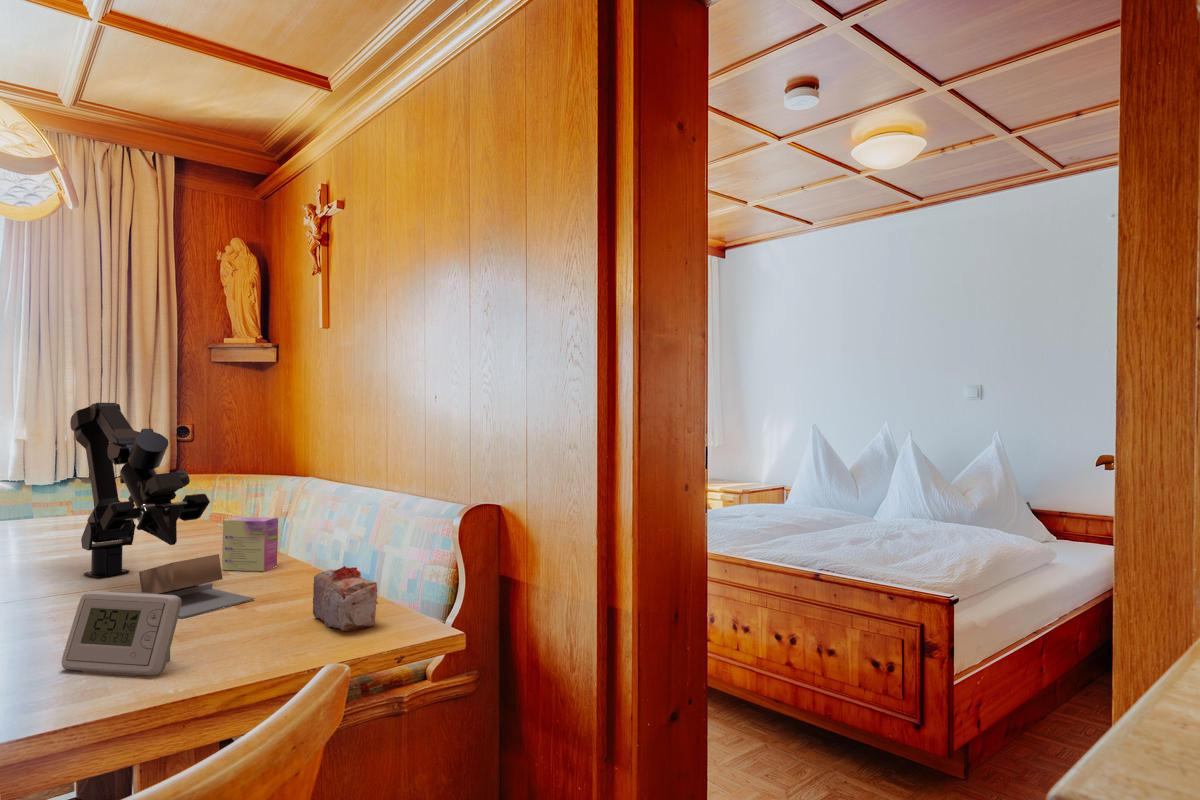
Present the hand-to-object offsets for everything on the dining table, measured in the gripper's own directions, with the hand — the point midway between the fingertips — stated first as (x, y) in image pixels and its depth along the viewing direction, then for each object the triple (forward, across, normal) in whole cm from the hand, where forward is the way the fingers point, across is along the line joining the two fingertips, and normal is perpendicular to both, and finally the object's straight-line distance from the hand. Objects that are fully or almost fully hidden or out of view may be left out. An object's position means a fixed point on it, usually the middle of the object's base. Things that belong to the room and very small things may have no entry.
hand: (173, 543), depth 138 cm
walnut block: (+3, 0, +8) cm, 8 cm away
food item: (+38, +6, -22) cm, 44 cm away
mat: (+13, 0, +2) cm, 13 cm away
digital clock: (+30, -25, -14) cm, 42 cm away
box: (+1, +23, +15) cm, 27 cm away
